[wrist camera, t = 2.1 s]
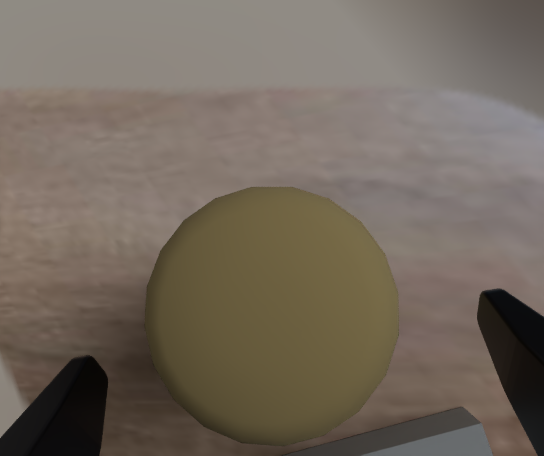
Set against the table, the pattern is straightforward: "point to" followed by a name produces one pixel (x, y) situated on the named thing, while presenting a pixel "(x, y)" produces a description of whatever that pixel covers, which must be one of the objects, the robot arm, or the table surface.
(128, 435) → the table surface
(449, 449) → the gray tray
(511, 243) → the table surface
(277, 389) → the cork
